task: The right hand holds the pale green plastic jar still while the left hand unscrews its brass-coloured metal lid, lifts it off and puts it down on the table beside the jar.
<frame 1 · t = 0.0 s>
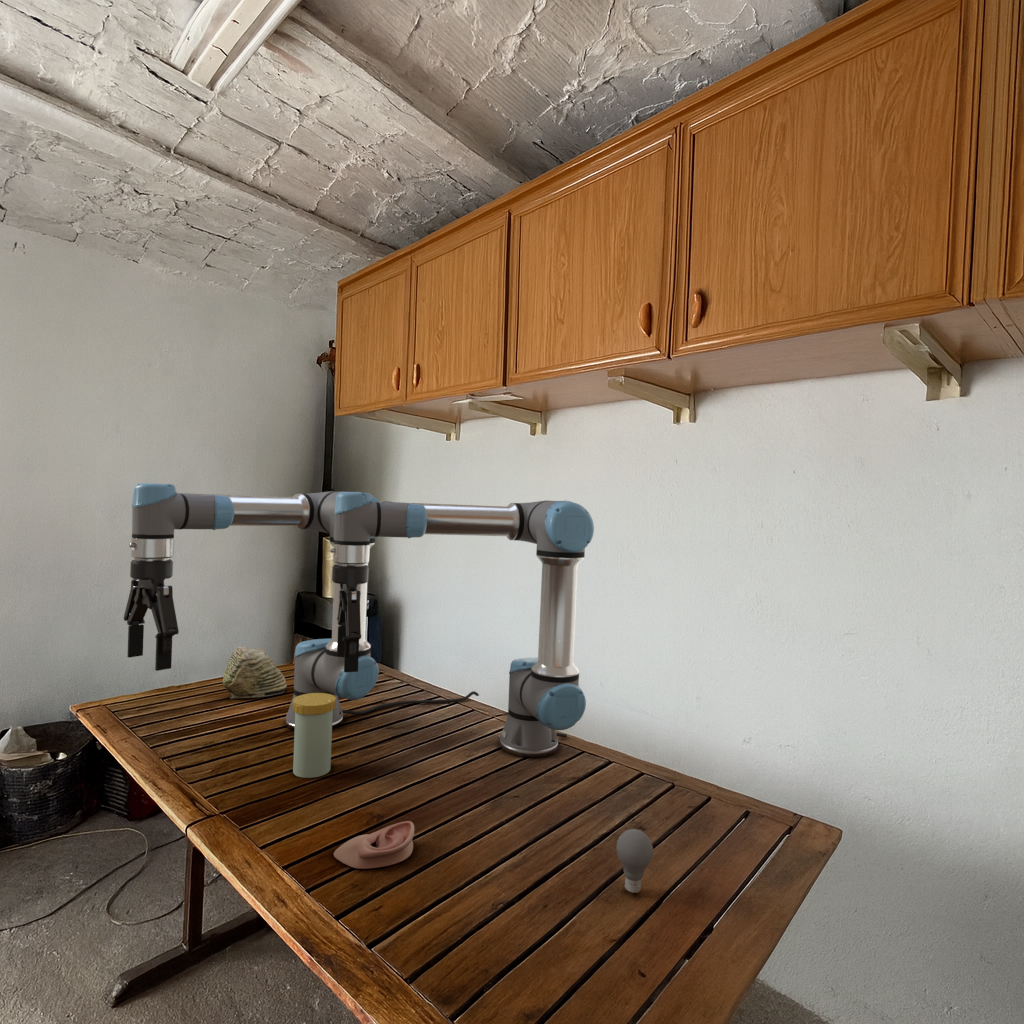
left hand: (148, 662, 129), 28 cm above the table, tool pointing down, fingers open, 13 cm apart
right hand: (346, 663, 135), 28 cm above the table, tool pointing down, fingers open, 13 cm apart
fossil: (254, 694, 198), on the table
light bulb: (632, 891, 106), on the table
anatomical model: (374, 852, 114), on the table
lid: (314, 700, 146), point 16 cm above the table, screwed on, not yet turned
jar: (311, 770, 146), on the table
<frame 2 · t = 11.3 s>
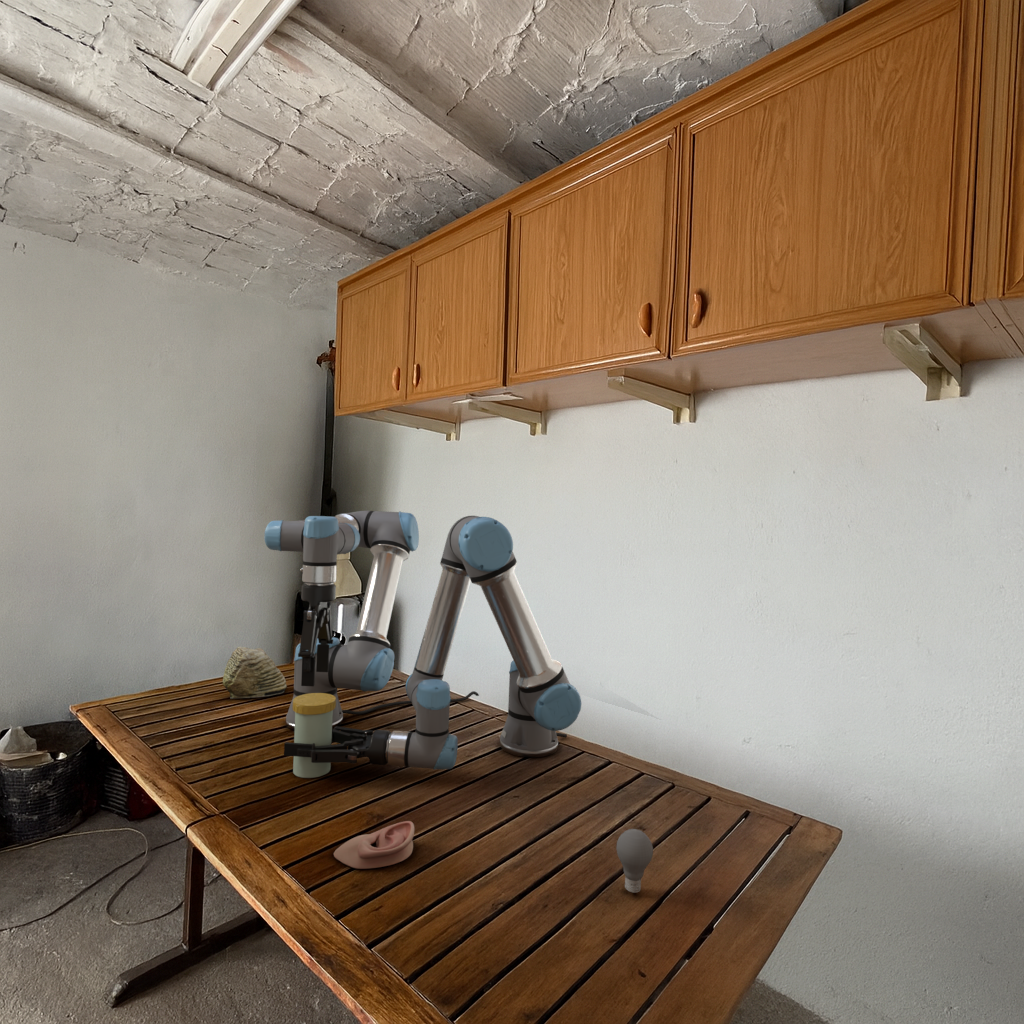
left hand: (315, 678, 146), 21 cm above the table, tool pointing down, fingers open, 11 cm apart
right hand: (293, 741, 147), 6 cm above the table, tool horizontal, fingers closed on jar, 8 cm apart
jar: (311, 770, 146), on the table, touching right hand
everything else where it was.
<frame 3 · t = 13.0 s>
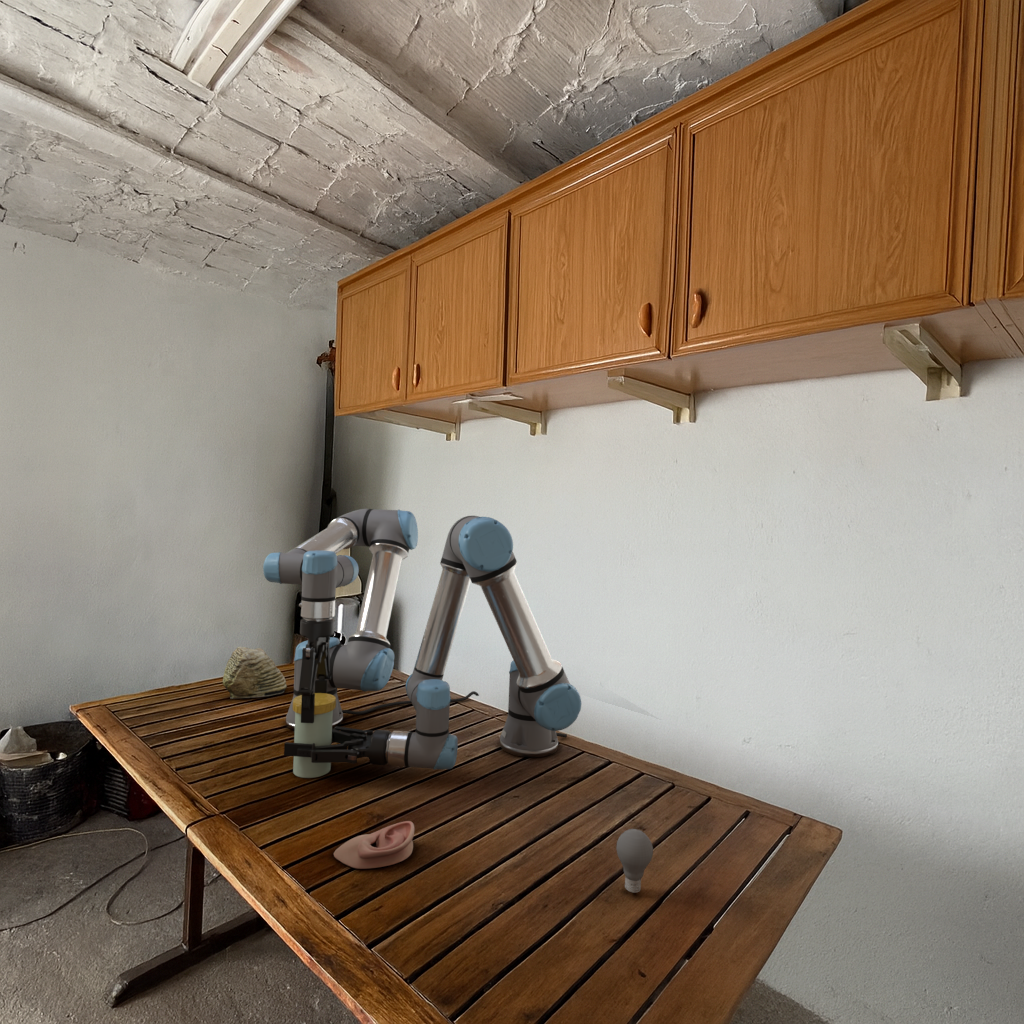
left hand: (314, 714, 146), 13 cm above the table, tool pointing down, fingers closed on lid, 9 cm apart
right hand: (293, 741, 147), 6 cm above the table, tool horizontal, fingers closed on jar, 8 cm apart
lid: (314, 700, 146), point 16 cm above the table, screwed on, not yet turned, touching left hand
jar: (311, 770, 146), on the table, touching right hand
everything else where it was.
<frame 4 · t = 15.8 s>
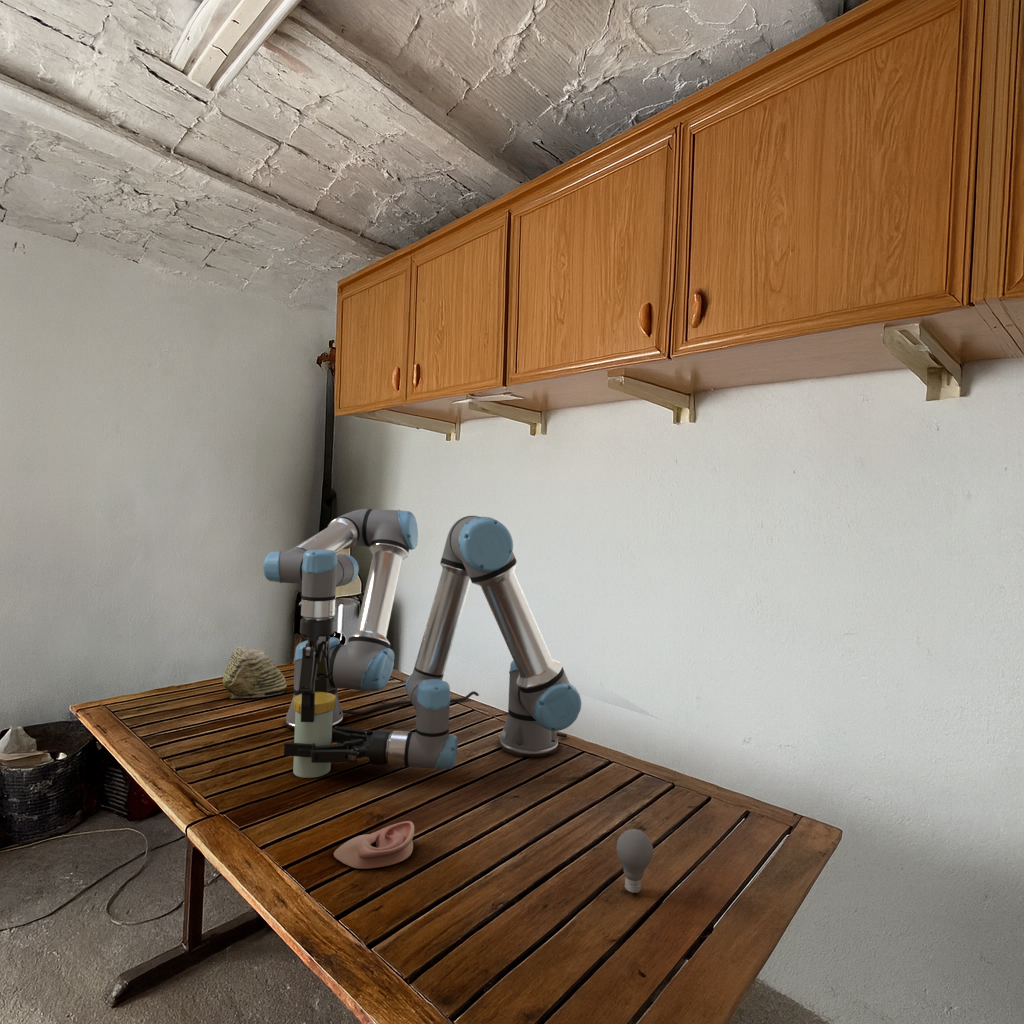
left hand: (314, 713, 146), 13 cm above the table, tool pointing down, fingers closed on lid, 9 cm apart
right hand: (293, 741, 147), 6 cm above the table, tool horizontal, fingers closed on jar, 8 cm apart
lid: (314, 699, 146), point 16 cm above the table, turned 72° so far, risen 0.2 cm, still on its thread, touching left hand
jar: (312, 770, 146), on the table, touching right hand
everything else where it was.
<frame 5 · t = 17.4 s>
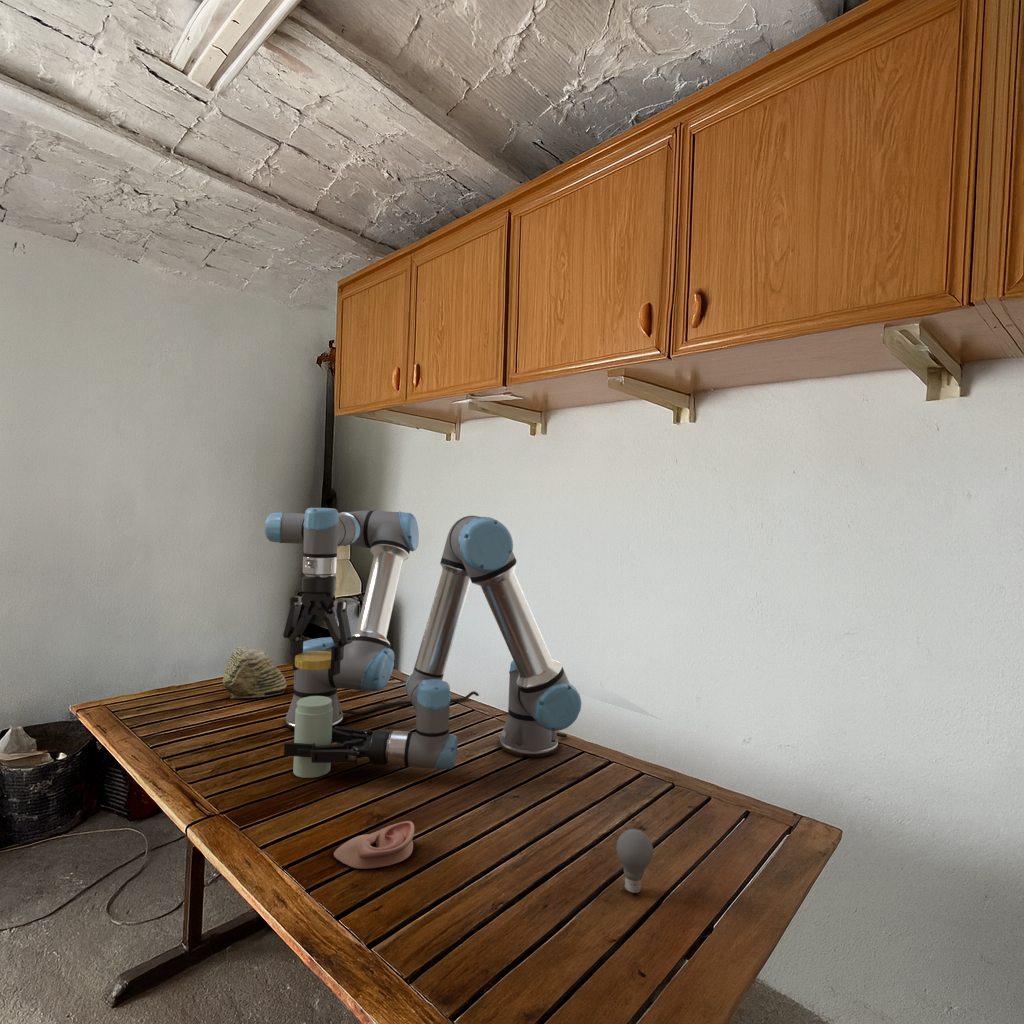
left hand: (316, 671, 146), 23 cm above the table, tool pointing down, fingers closed on lid, 9 cm apart
right hand: (293, 741, 147), 6 cm above the table, tool horizontal, fingers closed on jar, 8 cm apart
lid: (316, 657, 146), point 26 cm above the table, off its thread, touching left hand
jar: (311, 770, 146), on the table, touching right hand
everything else where it was.
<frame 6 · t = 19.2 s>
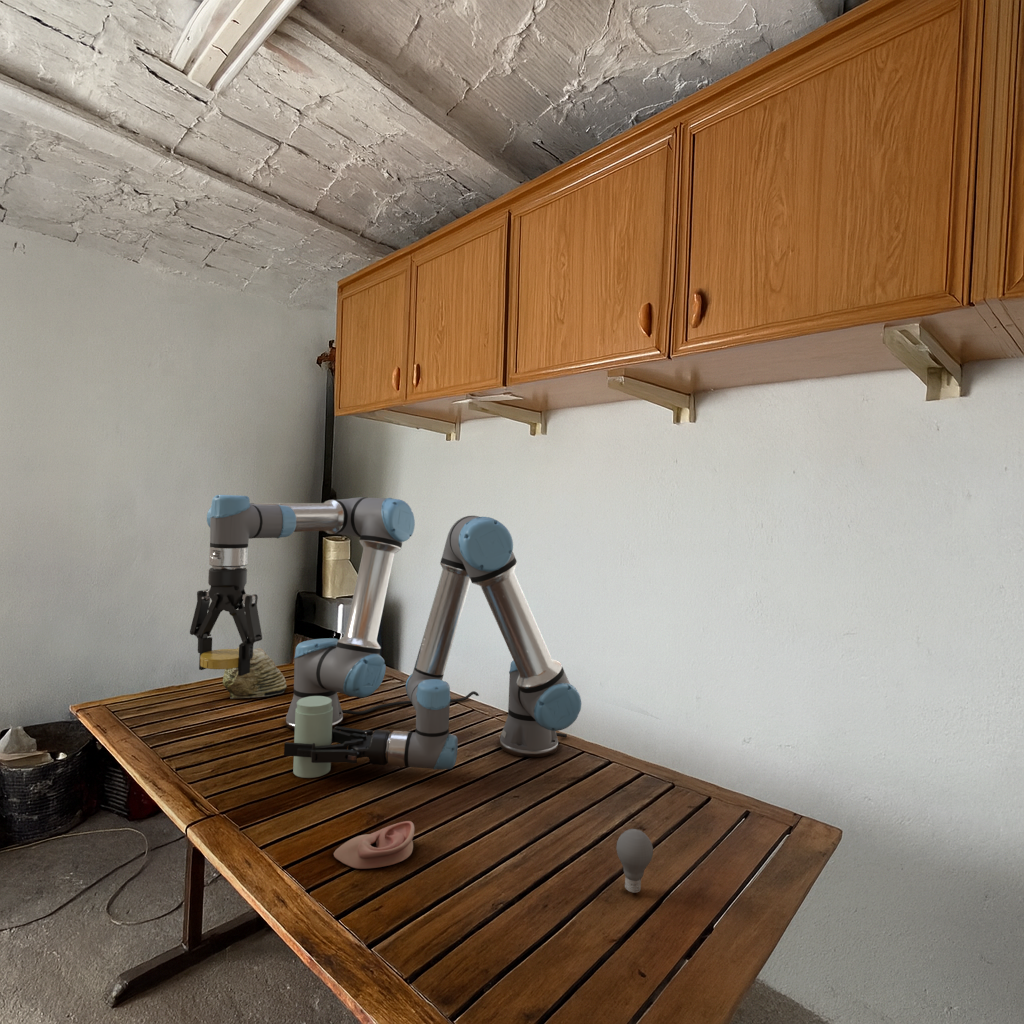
left hand: (224, 671, 136), 25 cm above the table, tool pointing down, fingers closed on lid, 9 cm apart
right hand: (293, 741, 147), 6 cm above the table, tool horizontal, fingers closed on jar, 8 cm apart
lid: (224, 655, 136), point 28 cm above the table, off its thread, touching left hand
jar: (311, 770, 146), on the table, touching right hand
everything else where it was.
when the left hand's fingers open (0 cm above the table, at t = 22.5 s): lid drops 2 cm, point 2 cm above the table.
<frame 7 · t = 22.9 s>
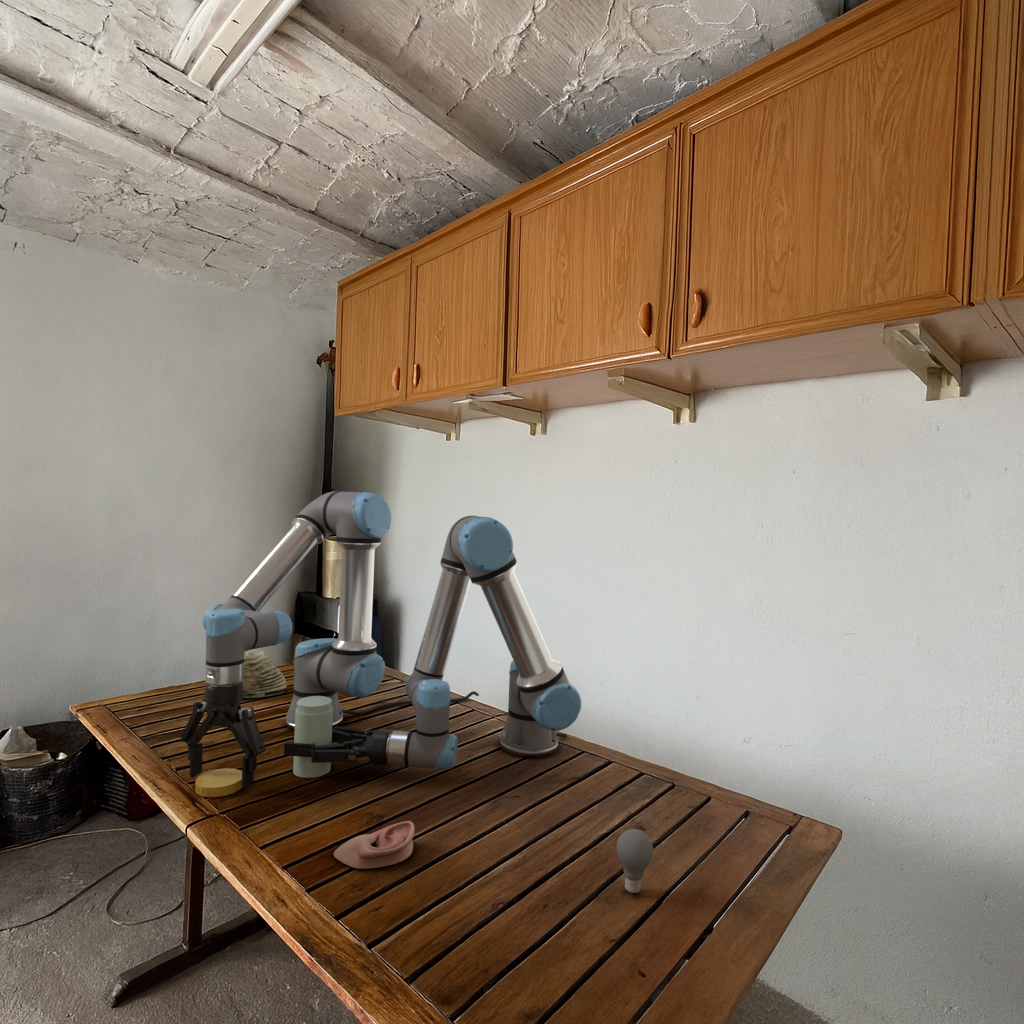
left hand: (221, 780, 136), 1 cm above the table, tool pointing down, fingers open, 13 cm apart
right hand: (293, 741, 147), 6 cm above the table, tool horizontal, fingers closed on jar, 8 cm apart
lid: (220, 779, 136), point 2 cm above the table, off its thread
jar: (311, 770, 146), on the table, touching right hand
everything else where it was.
when the right hand's fingers open (6 cm above the table, at t = 23.5 s): jar stays where it is, on the table.
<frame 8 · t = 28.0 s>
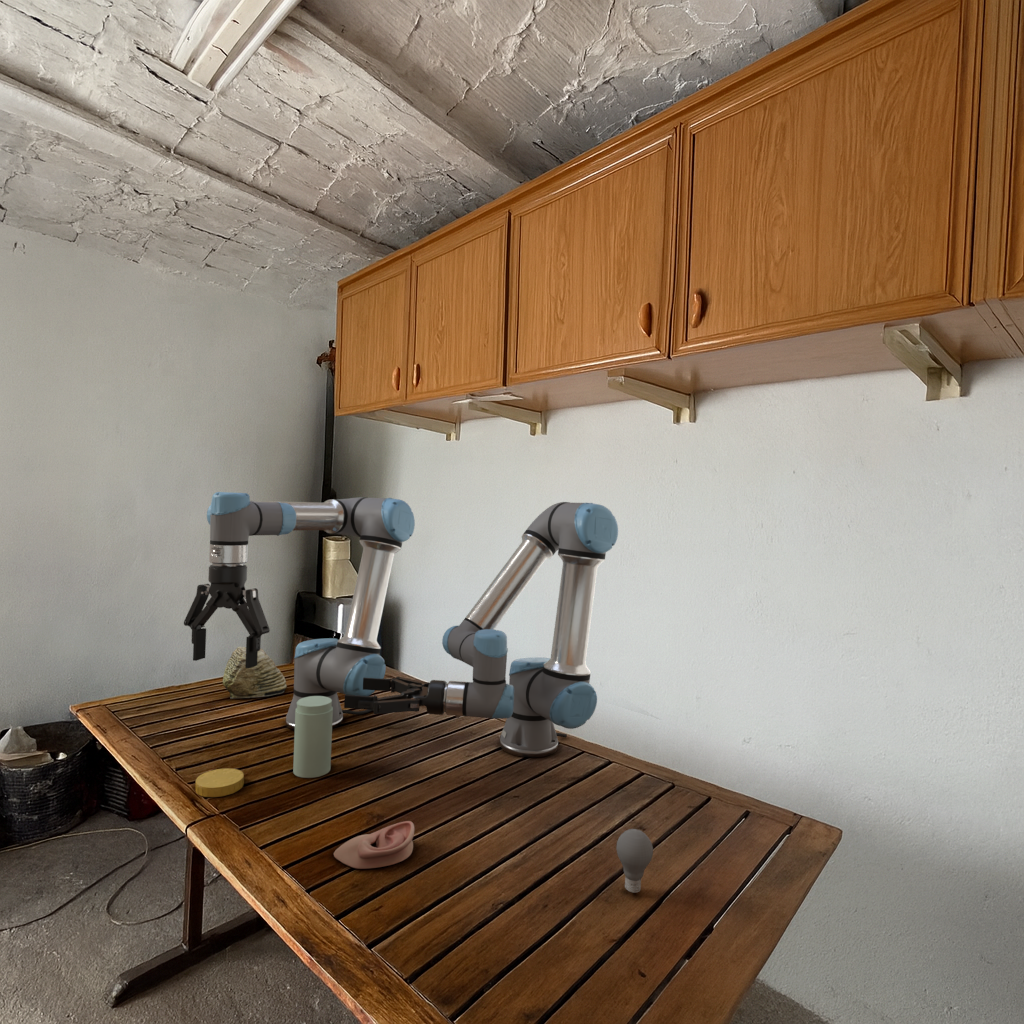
left hand: (224, 663, 136), 27 cm above the table, tool pointing down, fingers open, 13 cm apart
right hand: (354, 691, 145), 19 cm above the table, tool horizontal, fingers open, 13 cm apart
jar: (311, 770, 146), on the table
everything else where it was.
at the end: lid came off its thread; lid point 1.7 cm above the table; the left hand is holding nothing; the right hand is holding nothing; jar tilted 0°; jar moved 0.0 cm from its start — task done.
